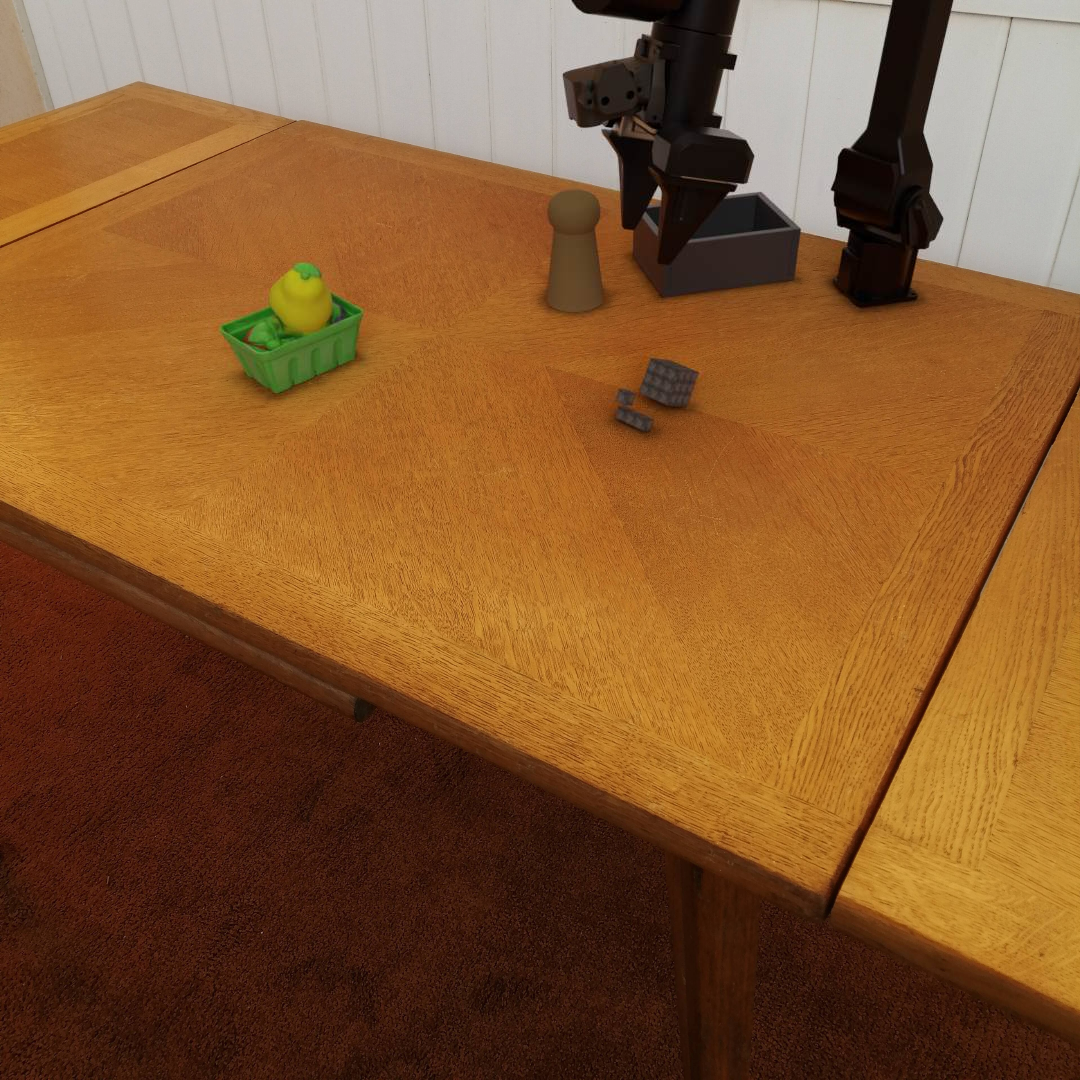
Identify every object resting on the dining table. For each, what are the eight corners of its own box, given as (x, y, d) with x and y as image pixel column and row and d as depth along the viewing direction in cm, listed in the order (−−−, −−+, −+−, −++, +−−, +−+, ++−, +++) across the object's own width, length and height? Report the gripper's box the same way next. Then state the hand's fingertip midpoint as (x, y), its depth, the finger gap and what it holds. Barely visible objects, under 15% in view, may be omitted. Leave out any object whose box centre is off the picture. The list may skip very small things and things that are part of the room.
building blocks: (699, 372, 86) (648, 366, 80) (678, 431, 88) (626, 430, 82) (670, 360, 88) (618, 353, 82) (649, 418, 90) (597, 416, 84)
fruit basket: (327, 332, 100) (307, 222, 92) (382, 363, 95) (365, 249, 88) (227, 376, 94) (197, 262, 87) (280, 411, 89) (253, 293, 82)
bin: (755, 240, 113) (761, 191, 110) (794, 279, 105) (801, 228, 102) (632, 255, 111) (633, 206, 108) (662, 297, 103) (664, 245, 100)
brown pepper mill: (599, 314, 101) (599, 207, 94) (540, 310, 102) (536, 204, 95) (608, 287, 105) (609, 183, 98) (551, 283, 107) (549, 181, 99)
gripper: (554, -3, 77) (522, 203, 85) (623, 26, 62) (576, 274, 70) (688, 20, 80) (645, 217, 88) (785, 54, 65) (722, 288, 73)
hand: (644, 245), depth 79 cm, fingers open, 9 cm apart
